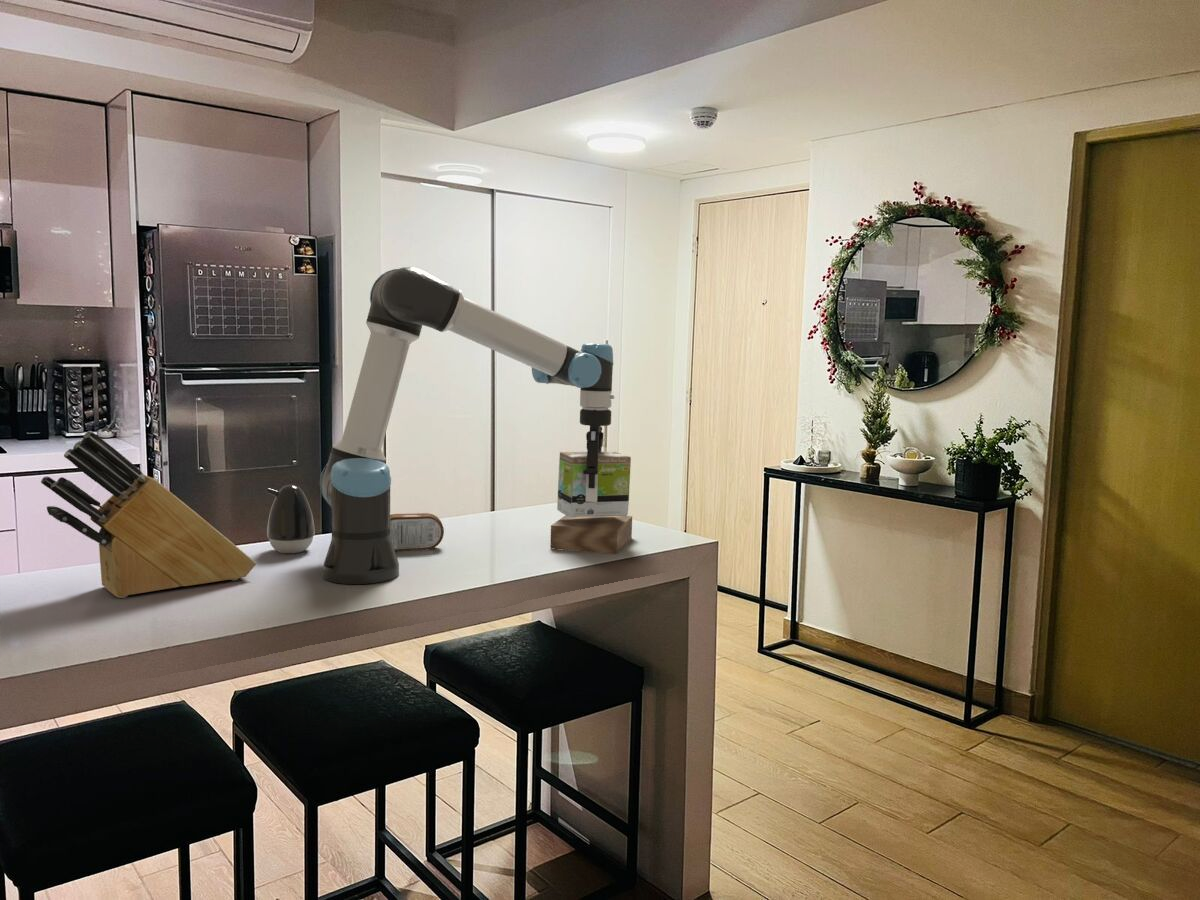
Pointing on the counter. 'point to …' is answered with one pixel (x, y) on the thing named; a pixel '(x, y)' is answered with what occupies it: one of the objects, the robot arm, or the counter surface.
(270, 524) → the pump dispenser
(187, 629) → the counter surface
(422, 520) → the tin
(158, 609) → the counter surface
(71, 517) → the knife block
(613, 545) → the walnut block
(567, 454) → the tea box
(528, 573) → the counter surface
